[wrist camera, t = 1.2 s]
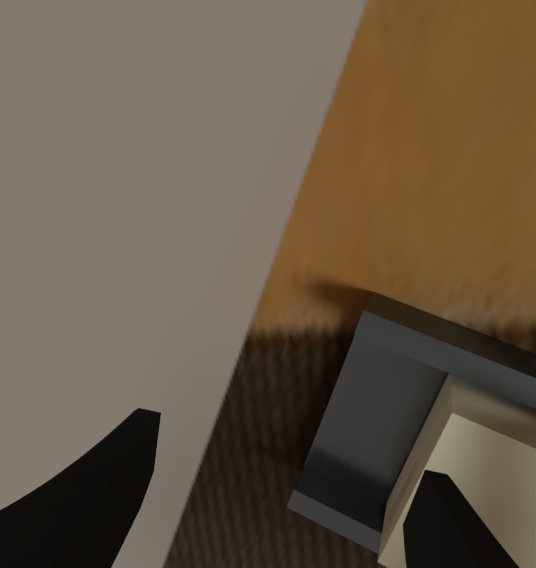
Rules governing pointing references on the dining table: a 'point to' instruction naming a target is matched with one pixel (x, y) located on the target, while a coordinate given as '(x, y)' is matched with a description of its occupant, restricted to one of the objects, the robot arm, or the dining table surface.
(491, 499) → the block
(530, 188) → the dining table surface
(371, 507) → the chute
